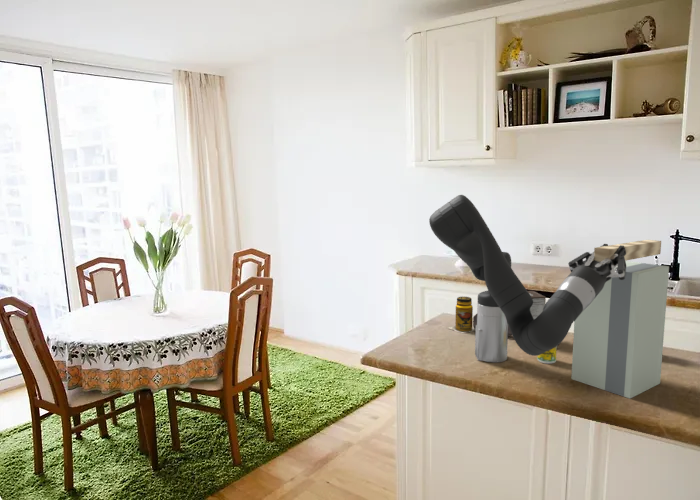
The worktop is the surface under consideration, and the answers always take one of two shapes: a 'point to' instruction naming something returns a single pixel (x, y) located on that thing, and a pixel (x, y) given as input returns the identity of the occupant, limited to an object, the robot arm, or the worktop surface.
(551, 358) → the supplement bottle
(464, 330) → the condiment
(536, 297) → the coffee box
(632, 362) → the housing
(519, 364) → the worktop surface
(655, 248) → the beech rod
